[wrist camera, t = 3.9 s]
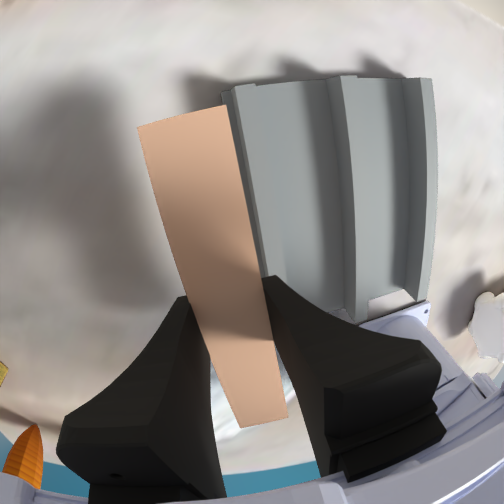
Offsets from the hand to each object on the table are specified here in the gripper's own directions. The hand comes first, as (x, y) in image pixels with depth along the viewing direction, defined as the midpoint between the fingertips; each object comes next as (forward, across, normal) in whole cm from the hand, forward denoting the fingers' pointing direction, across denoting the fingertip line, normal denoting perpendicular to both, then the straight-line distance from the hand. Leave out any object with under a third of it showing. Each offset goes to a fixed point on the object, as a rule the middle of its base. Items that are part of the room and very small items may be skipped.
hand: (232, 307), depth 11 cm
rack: (+8, -8, 0) cm, 12 cm away
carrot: (+9, +29, +18) cm, 35 cm away
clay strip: (+2, 0, 0) cm, 3 cm away
